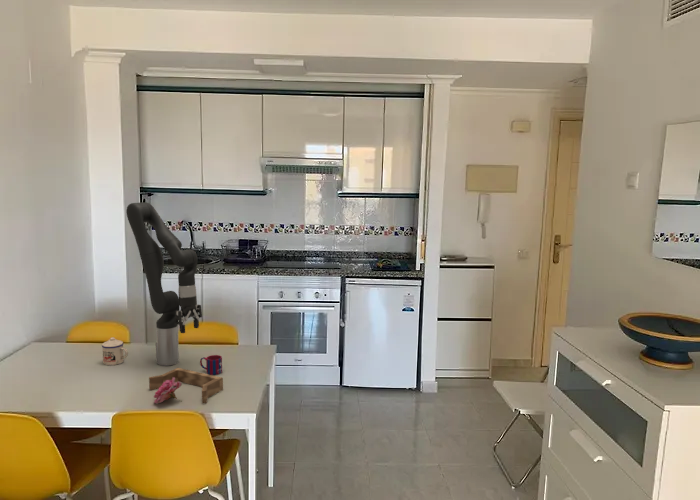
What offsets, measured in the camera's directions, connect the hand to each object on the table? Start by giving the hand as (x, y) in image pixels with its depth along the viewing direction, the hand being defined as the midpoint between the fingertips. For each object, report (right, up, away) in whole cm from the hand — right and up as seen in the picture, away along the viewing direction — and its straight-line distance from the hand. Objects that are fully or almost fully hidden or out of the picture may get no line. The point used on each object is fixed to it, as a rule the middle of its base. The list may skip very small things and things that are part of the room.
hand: (189, 330), depth 237 cm
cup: (+10, -18, -3) cm, 21 cm away
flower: (+1, -22, -33) cm, 40 cm away
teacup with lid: (-36, -16, +7) cm, 40 cm away
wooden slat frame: (+6, -21, -23) cm, 31 cm away
